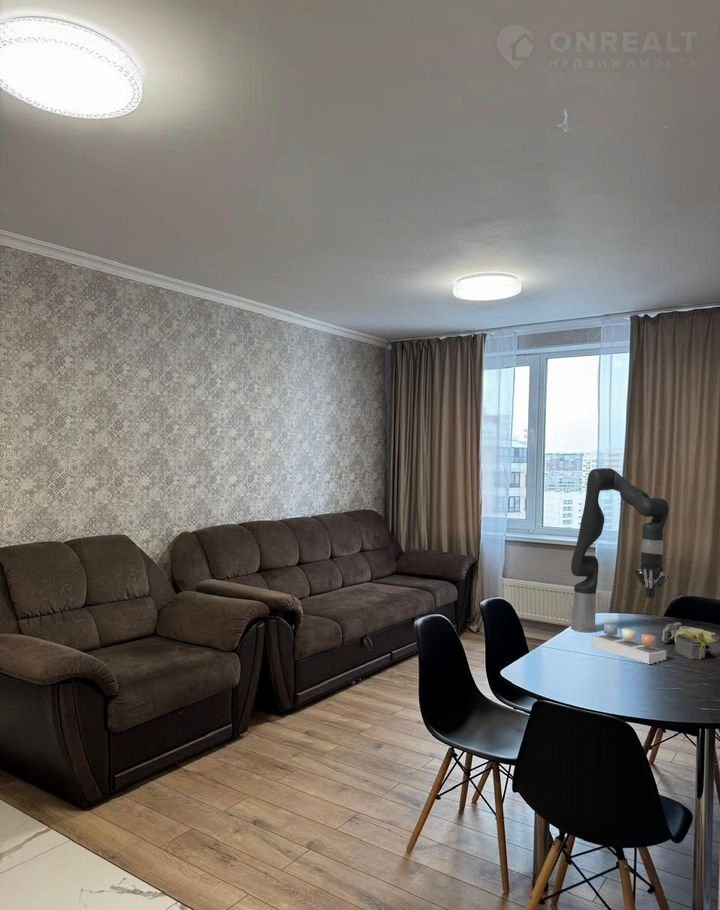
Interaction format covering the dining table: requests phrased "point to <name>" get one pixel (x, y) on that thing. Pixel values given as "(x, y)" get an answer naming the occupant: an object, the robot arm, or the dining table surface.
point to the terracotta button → (648, 640)
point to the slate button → (610, 628)
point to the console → (629, 648)
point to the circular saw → (691, 640)
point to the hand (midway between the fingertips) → (650, 597)
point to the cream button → (628, 634)
